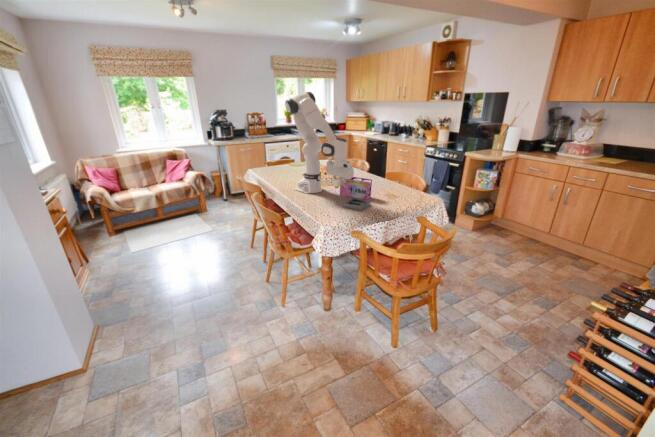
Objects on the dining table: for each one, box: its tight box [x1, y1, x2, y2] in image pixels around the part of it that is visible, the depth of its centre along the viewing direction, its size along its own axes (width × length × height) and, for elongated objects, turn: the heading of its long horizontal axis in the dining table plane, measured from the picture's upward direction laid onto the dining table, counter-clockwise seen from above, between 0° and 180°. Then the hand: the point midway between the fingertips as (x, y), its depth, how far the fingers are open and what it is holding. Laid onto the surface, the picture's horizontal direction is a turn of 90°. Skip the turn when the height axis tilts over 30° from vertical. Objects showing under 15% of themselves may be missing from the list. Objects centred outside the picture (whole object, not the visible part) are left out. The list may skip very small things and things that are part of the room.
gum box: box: [339, 176, 373, 201], centre depth 220 cm, size 24×8×14 cm, turn 59°
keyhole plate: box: [342, 197, 372, 212], centre depth 203 cm, size 14×14×2 cm
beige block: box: [332, 177, 345, 189], centre depth 205 cm, size 4×11×6 cm, turn 149°
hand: (338, 182), depth 205 cm, fingers closed on beige block, 4 cm apart
